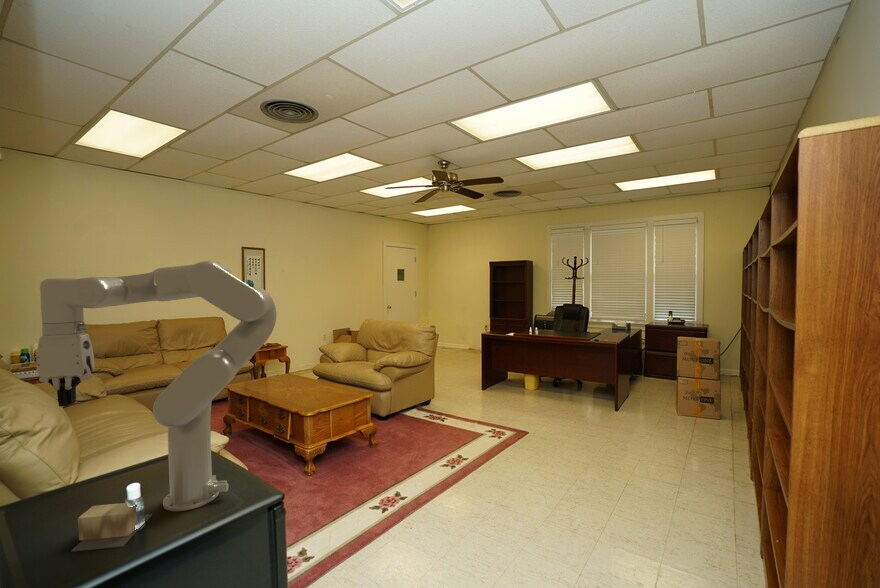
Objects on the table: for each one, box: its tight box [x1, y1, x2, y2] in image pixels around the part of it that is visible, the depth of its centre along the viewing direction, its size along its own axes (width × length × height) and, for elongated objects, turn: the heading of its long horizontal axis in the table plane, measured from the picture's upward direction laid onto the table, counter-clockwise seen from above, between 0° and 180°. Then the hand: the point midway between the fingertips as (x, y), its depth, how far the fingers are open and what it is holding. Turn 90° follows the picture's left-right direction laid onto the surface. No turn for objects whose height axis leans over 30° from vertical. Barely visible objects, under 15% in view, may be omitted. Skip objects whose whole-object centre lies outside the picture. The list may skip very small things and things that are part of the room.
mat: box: [71, 513, 153, 552], centre depth 95 cm, size 10×12×1 cm
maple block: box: [77, 502, 137, 541], centre depth 94 cm, size 5×5×10 cm
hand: (67, 404), depth 101 cm, fingers closed
